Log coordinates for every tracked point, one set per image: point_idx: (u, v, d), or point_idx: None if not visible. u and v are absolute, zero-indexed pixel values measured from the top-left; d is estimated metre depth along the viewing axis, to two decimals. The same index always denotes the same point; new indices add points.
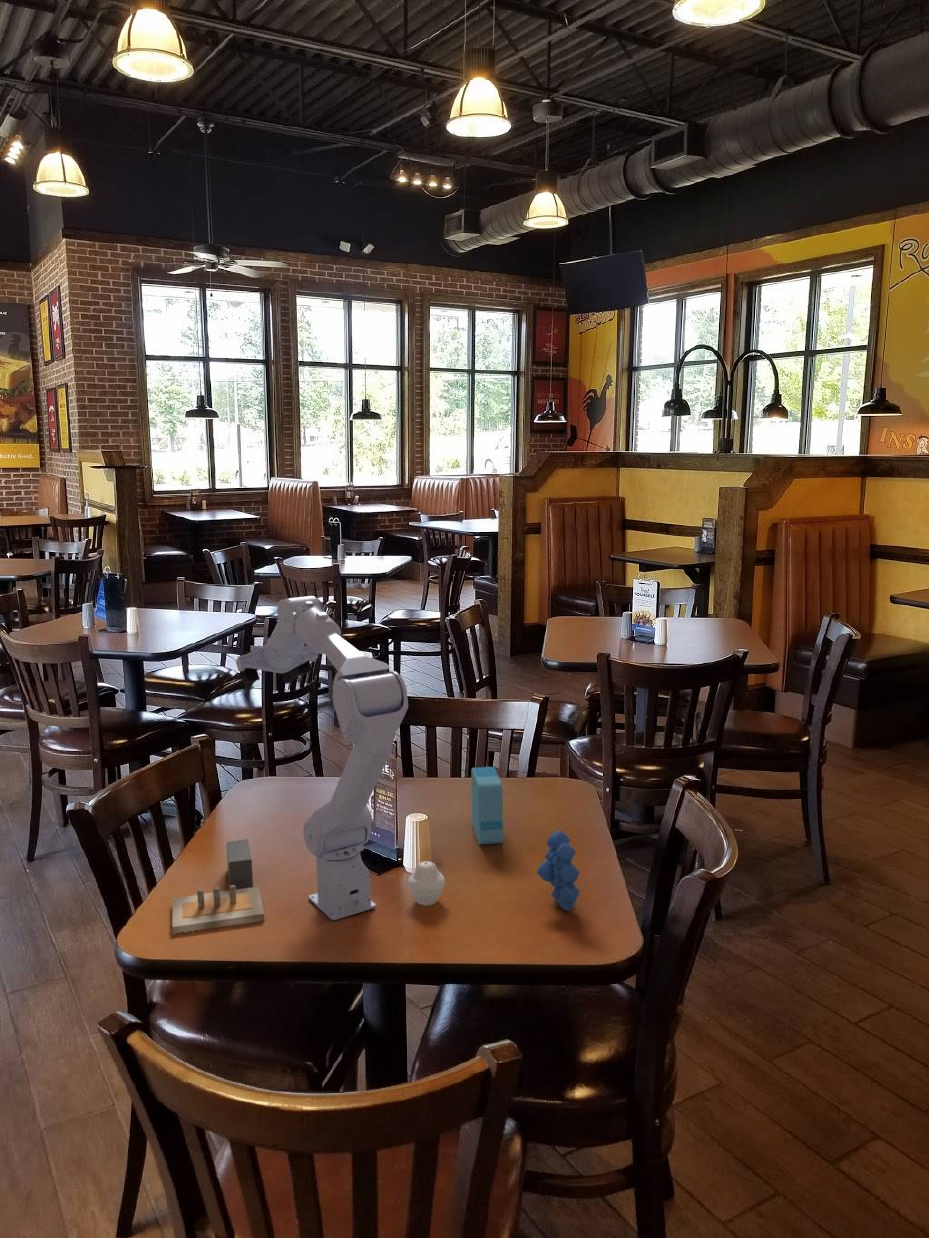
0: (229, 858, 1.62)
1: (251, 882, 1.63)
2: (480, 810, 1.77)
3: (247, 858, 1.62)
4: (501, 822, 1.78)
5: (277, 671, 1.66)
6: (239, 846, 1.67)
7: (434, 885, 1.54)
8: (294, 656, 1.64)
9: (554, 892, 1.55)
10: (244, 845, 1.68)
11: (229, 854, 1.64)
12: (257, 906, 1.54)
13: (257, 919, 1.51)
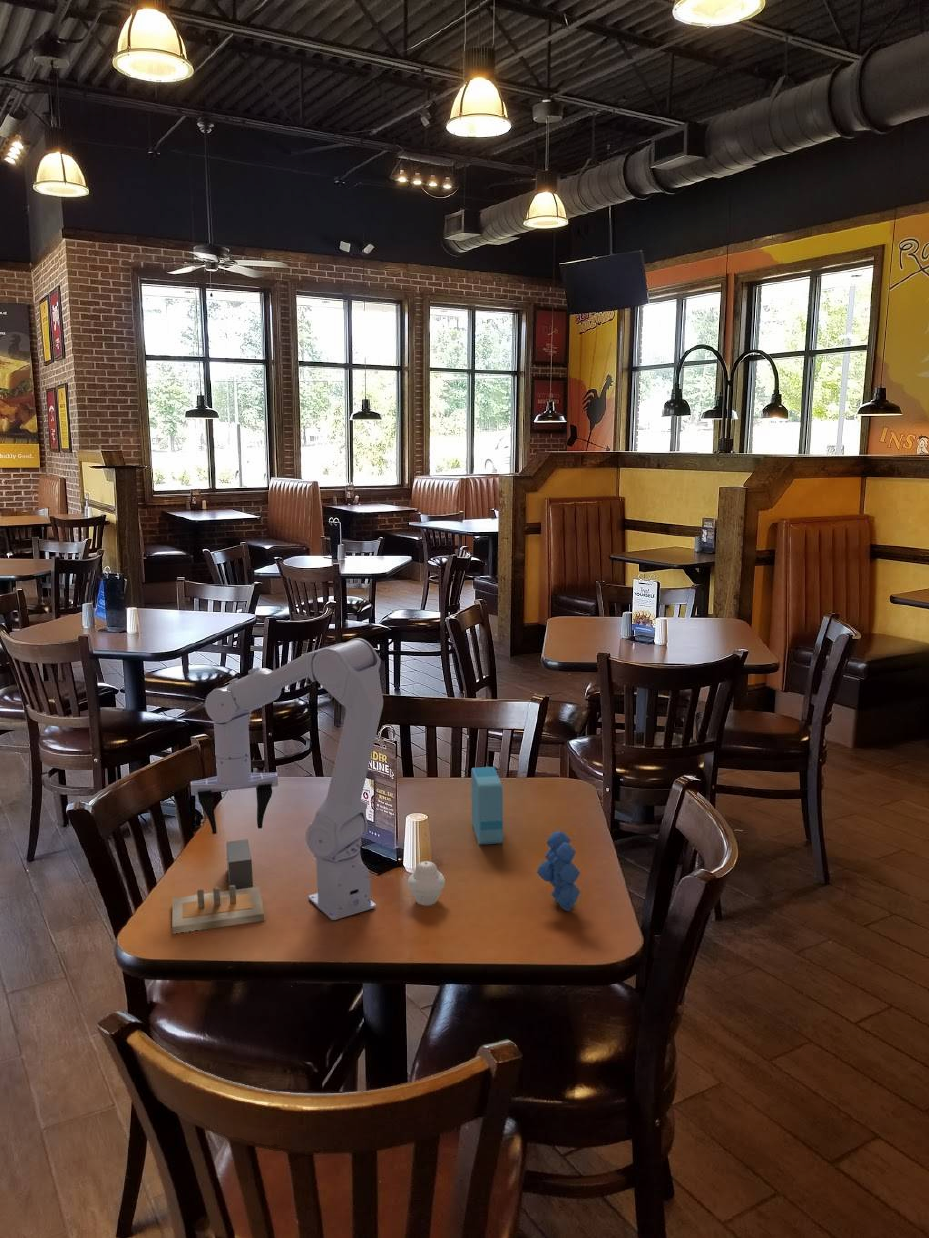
0: (229, 858, 1.62)
1: (251, 882, 1.63)
2: (480, 810, 1.77)
3: (247, 858, 1.62)
4: (501, 822, 1.78)
5: (228, 786, 1.60)
6: (239, 846, 1.67)
7: (434, 885, 1.54)
8: (238, 759, 1.60)
9: (555, 892, 1.55)
10: (244, 845, 1.68)
11: (229, 854, 1.64)
12: (257, 906, 1.54)
13: (257, 919, 1.51)
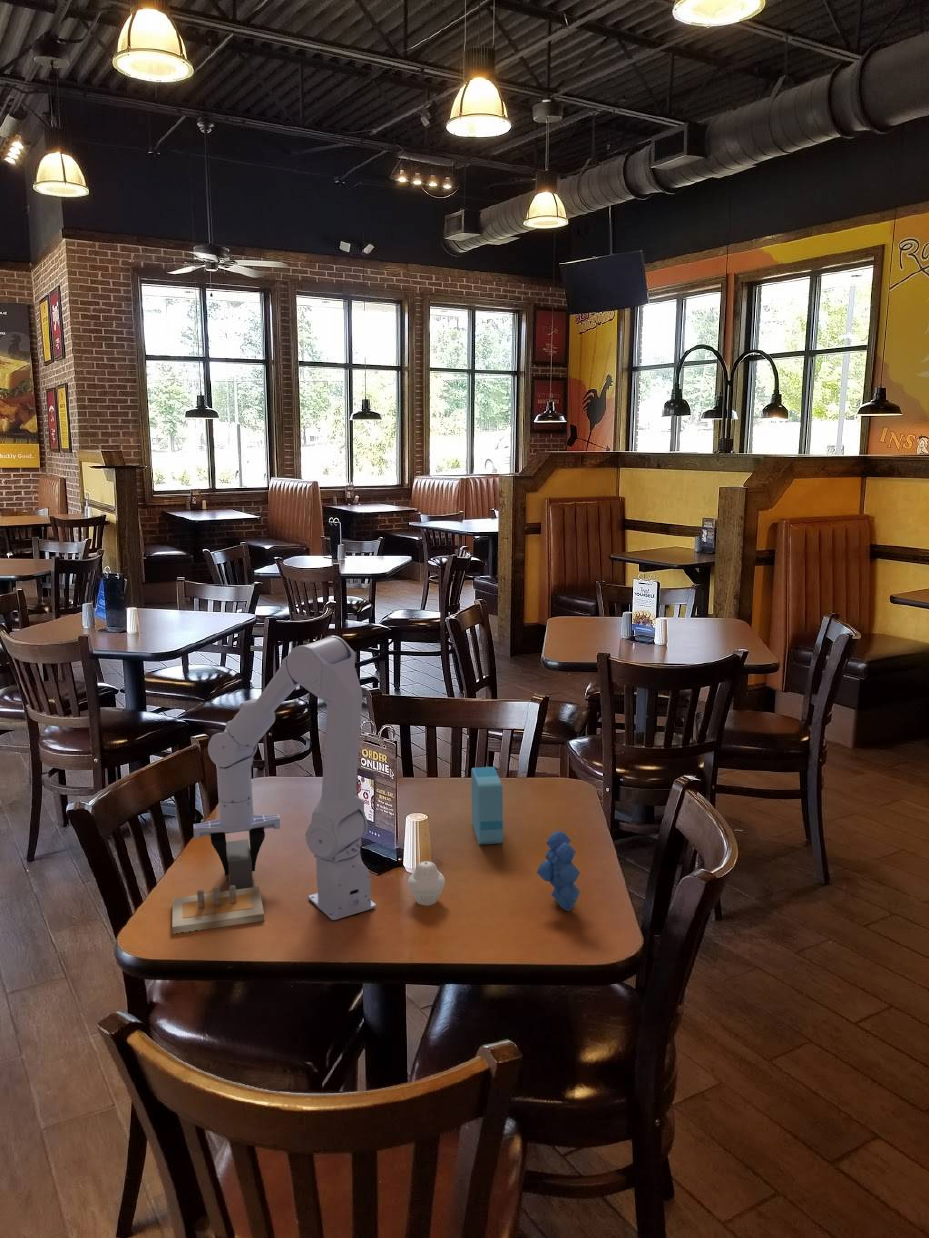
0: (229, 858, 1.62)
1: (251, 882, 1.63)
2: (480, 810, 1.77)
3: (247, 858, 1.62)
4: (501, 822, 1.78)
5: (231, 829, 1.62)
6: (239, 846, 1.67)
7: (434, 885, 1.54)
8: (241, 803, 1.62)
9: (555, 892, 1.55)
10: (244, 845, 1.68)
11: (229, 854, 1.64)
12: (257, 906, 1.54)
13: (257, 919, 1.51)
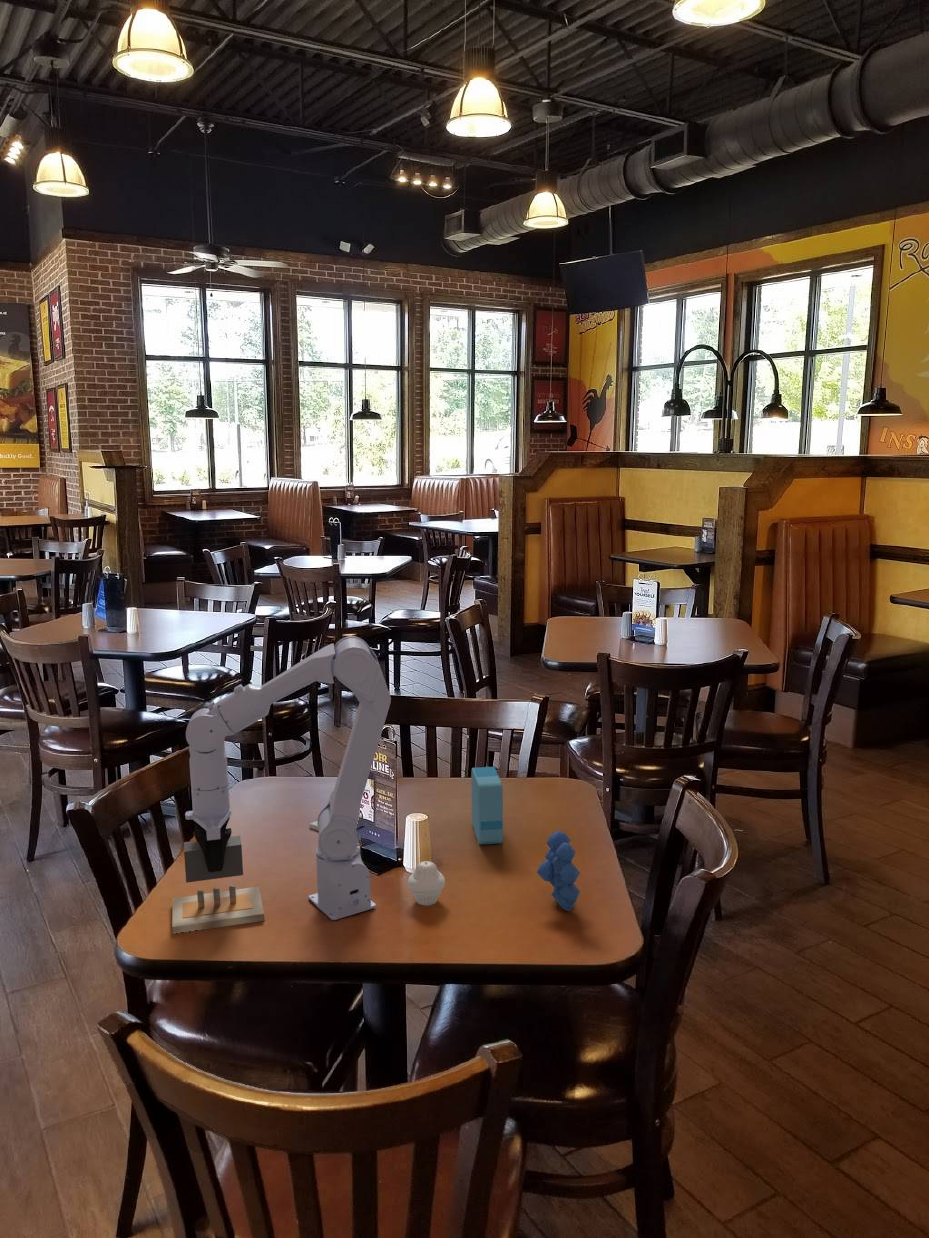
0: (231, 845, 1.51)
1: None
2: (480, 810, 1.77)
3: (235, 837, 1.54)
4: (501, 822, 1.78)
5: (230, 813, 1.51)
6: None
7: (434, 885, 1.54)
8: None
9: (555, 892, 1.55)
10: None
11: None
12: (257, 906, 1.54)
13: (257, 919, 1.51)
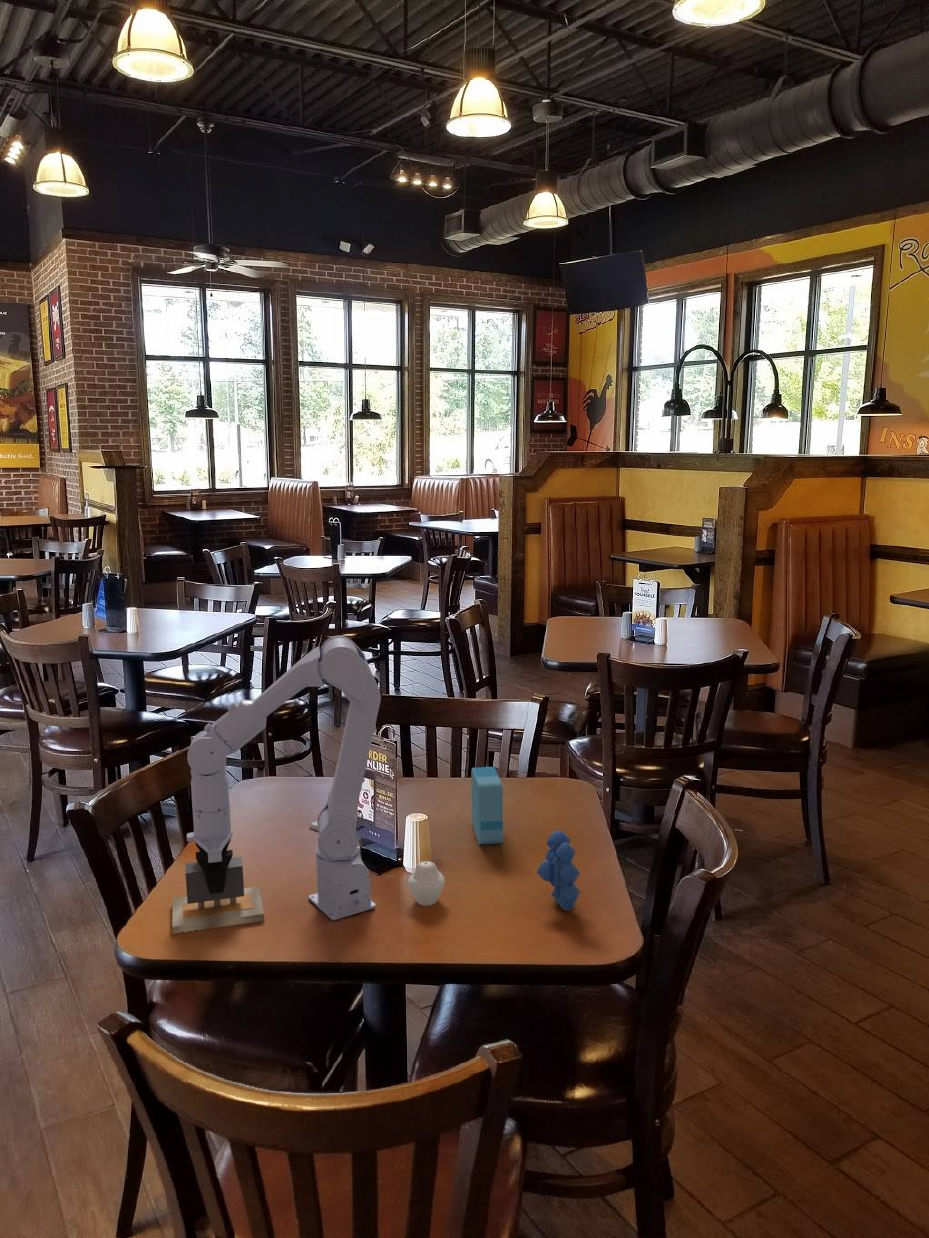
0: (232, 866, 1.52)
1: None
2: (480, 810, 1.77)
3: (236, 858, 1.55)
4: (501, 822, 1.78)
5: (231, 834, 1.52)
6: None
7: (434, 885, 1.54)
8: None
9: (555, 892, 1.55)
10: None
11: None
12: (257, 906, 1.54)
13: (257, 919, 1.51)
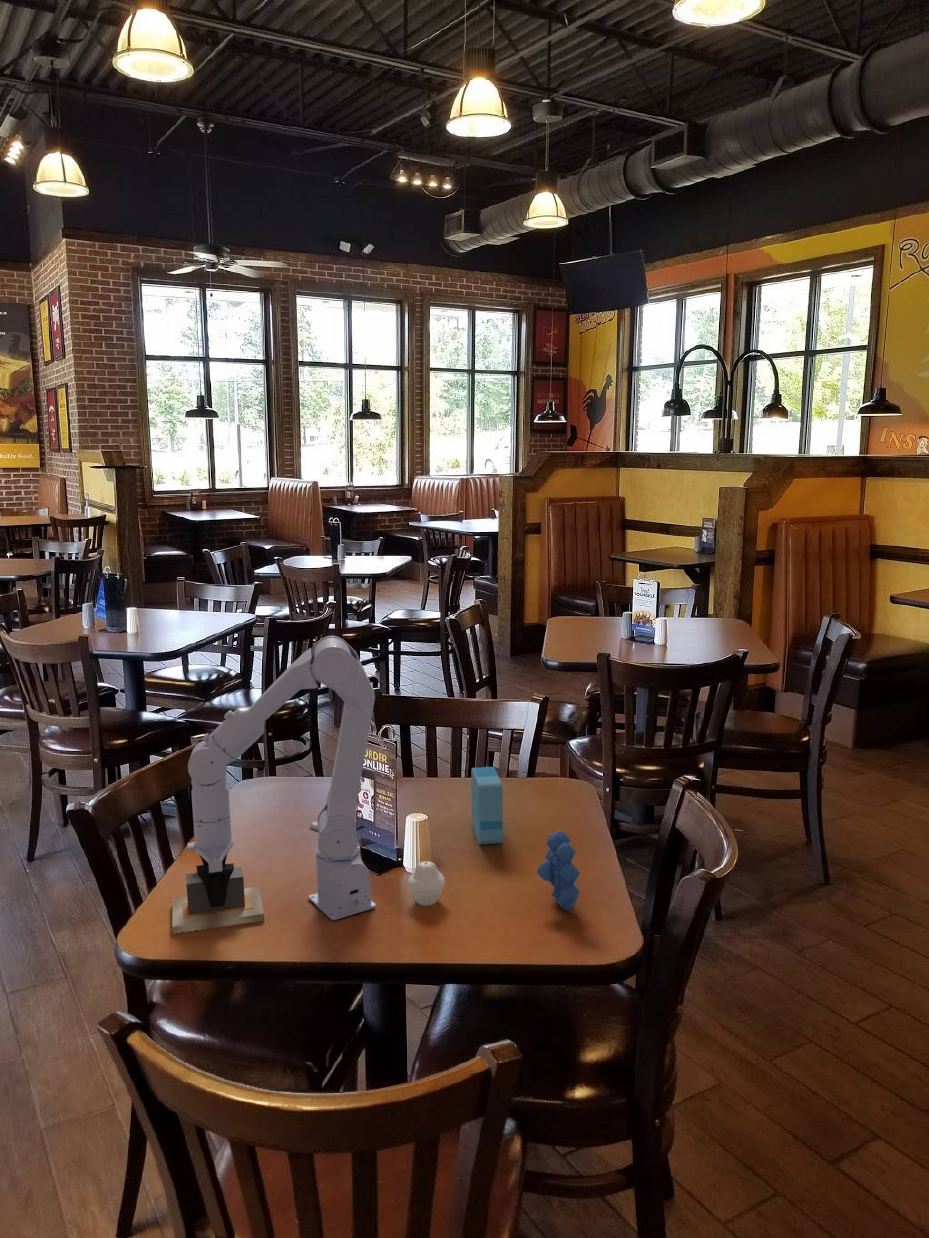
0: (233, 877, 1.52)
1: None
2: (480, 810, 1.77)
3: (237, 868, 1.55)
4: (501, 822, 1.78)
5: (232, 844, 1.52)
6: None
7: (434, 885, 1.54)
8: None
9: (555, 892, 1.55)
10: None
11: None
12: (257, 906, 1.54)
13: (257, 919, 1.51)
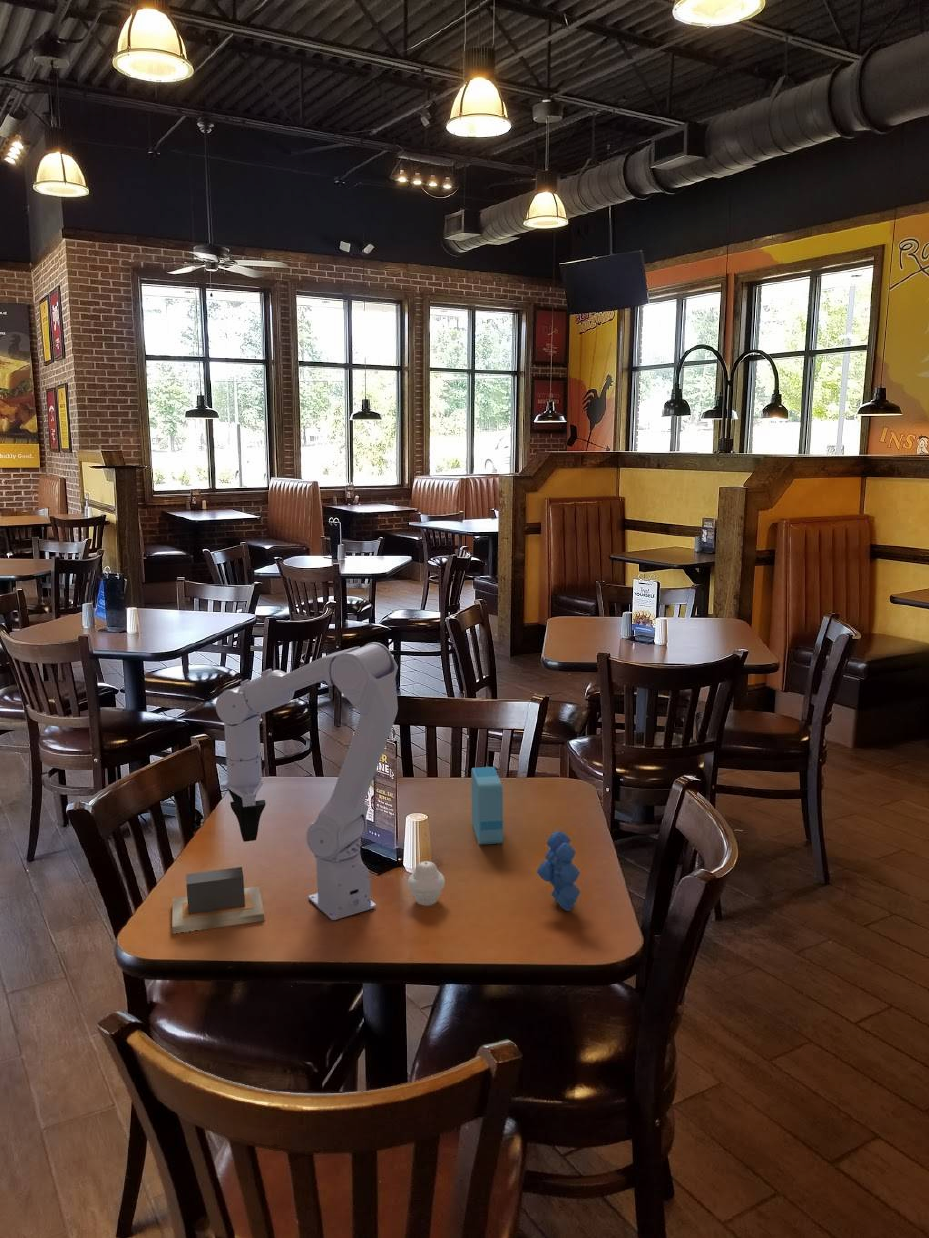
0: (233, 877, 1.52)
1: None
2: (480, 810, 1.77)
3: (237, 868, 1.55)
4: (501, 822, 1.78)
5: (262, 782, 1.61)
6: (204, 875, 1.53)
7: (434, 885, 1.54)
8: None
9: (555, 892, 1.55)
10: (202, 874, 1.54)
11: (222, 878, 1.52)
12: (257, 906, 1.54)
13: (257, 919, 1.51)
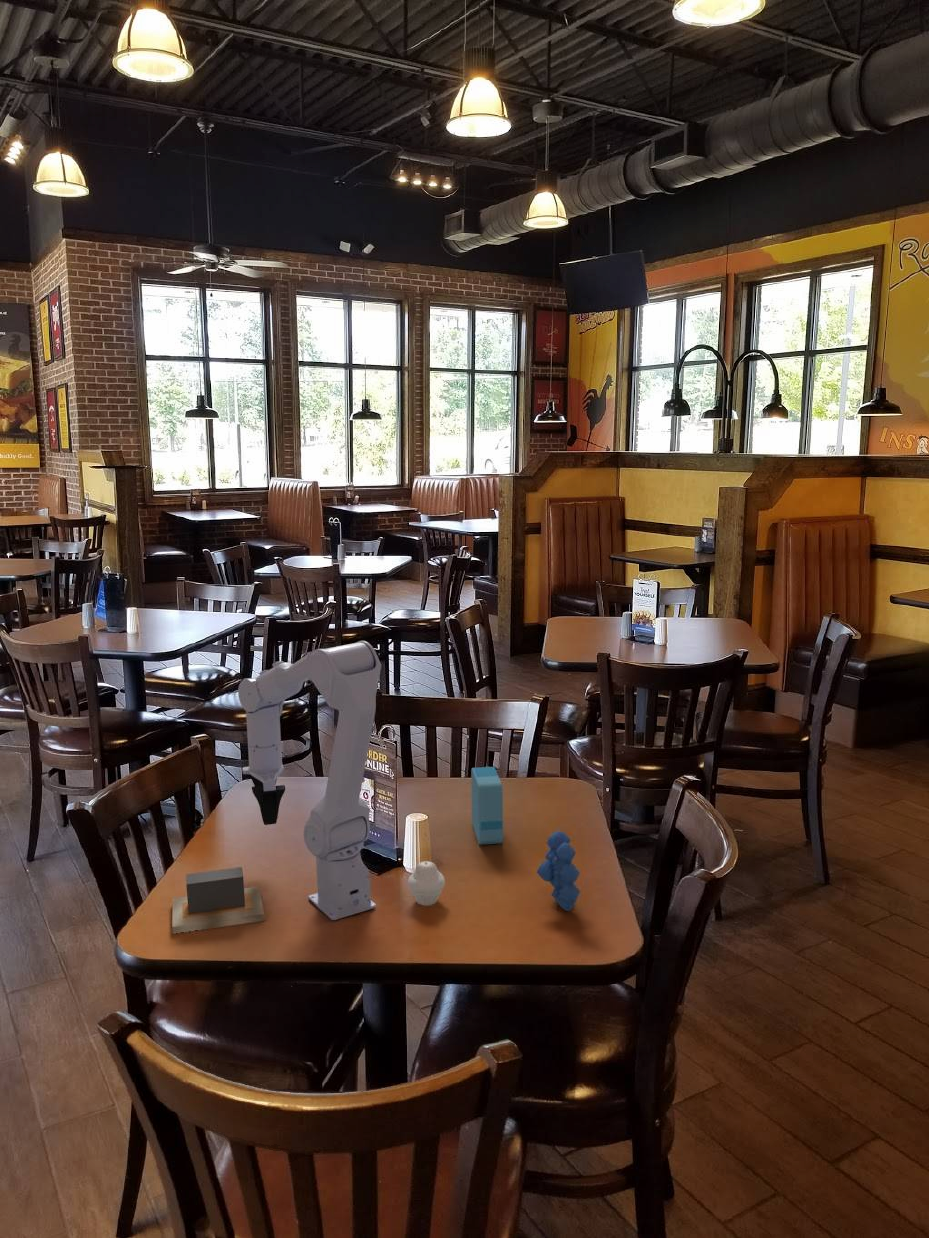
0: (233, 877, 1.52)
1: None
2: (480, 810, 1.77)
3: (237, 868, 1.55)
4: (501, 822, 1.78)
5: (282, 768, 1.68)
6: (204, 875, 1.53)
7: (434, 885, 1.54)
8: None
9: (555, 892, 1.55)
10: (202, 874, 1.54)
11: (222, 878, 1.52)
12: (257, 906, 1.54)
13: (257, 919, 1.51)
